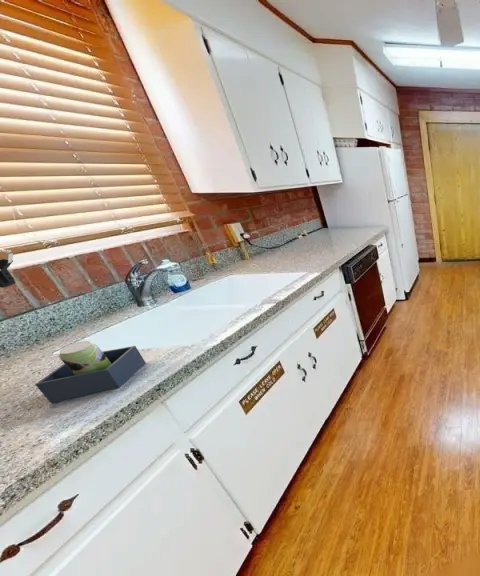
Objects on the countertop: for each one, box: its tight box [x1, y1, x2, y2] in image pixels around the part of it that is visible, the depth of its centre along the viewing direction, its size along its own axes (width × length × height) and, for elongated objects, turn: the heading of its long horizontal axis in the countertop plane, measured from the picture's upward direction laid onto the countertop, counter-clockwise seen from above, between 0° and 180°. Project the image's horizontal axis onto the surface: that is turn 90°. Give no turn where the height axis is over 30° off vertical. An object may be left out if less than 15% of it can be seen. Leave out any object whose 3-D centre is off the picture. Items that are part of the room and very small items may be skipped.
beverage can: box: [58, 340, 111, 375], centre depth 80 cm, size 6×7×12 cm
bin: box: [34, 345, 147, 405], centre depth 81 cm, size 12×12×7 cm
